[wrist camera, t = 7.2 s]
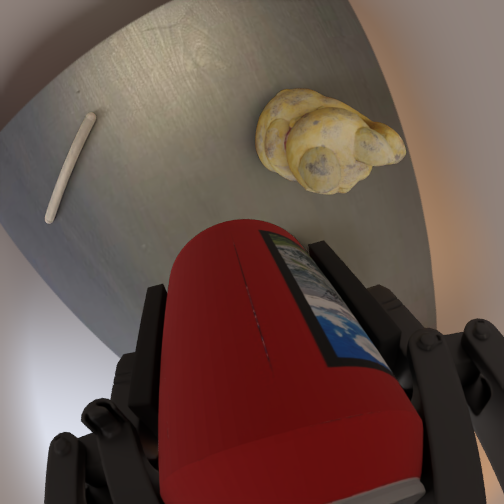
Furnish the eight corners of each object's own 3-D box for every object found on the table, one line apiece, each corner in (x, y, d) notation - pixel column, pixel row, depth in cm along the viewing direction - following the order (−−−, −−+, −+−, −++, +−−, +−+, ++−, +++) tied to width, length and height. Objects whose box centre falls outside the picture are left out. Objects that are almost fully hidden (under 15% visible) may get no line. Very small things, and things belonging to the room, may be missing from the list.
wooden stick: (46, 218, 29) (41, 222, 28) (90, 110, 25) (86, 110, 24) (54, 222, 29) (50, 226, 28) (99, 115, 25) (96, 115, 24)
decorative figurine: (269, 182, 32) (323, 238, 19) (229, 115, 28) (260, 118, 15) (343, 140, 31) (434, 169, 18) (310, 74, 27) (394, 56, 14)
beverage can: (309, 314, 17) (410, 511, 6) (191, 342, 16) (212, 565, 6) (299, 198, 14) (506, 421, 3) (151, 231, 13) (94, 536, 2)
